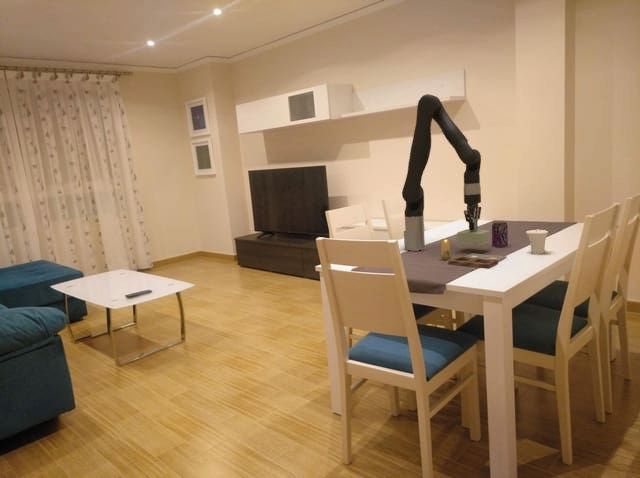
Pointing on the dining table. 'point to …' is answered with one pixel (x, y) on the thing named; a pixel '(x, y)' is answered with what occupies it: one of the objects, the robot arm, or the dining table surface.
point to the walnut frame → (473, 262)
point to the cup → (537, 240)
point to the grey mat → (487, 256)
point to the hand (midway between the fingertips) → (473, 229)
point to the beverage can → (499, 234)
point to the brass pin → (445, 249)
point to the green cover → (473, 236)
